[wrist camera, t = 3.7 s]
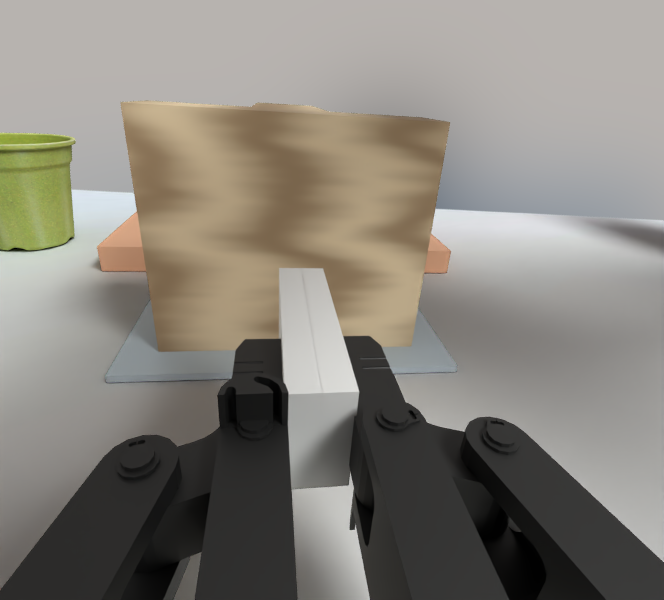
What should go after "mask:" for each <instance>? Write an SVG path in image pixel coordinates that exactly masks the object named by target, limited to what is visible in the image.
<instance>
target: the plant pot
mask: <svg viewBox="0 0 664 600" xmlns="http://www.w3.org/2000/svg"><path fill="white" fill-rule="evenodd" d="M73 144H75V138H73V137H68V136H63V135H52V134H35V133H33V134H32V133H31V134H30V133H29V134H28V133H0V249H2V250H10V249H12V248H22V249H25V250H41V249H44V248H49V247H54V246H59V245H62V244H64V243H66V242H67V241H68V240H69V238H72V237H74V221H73V208H72V194H71V181H70V162H71V160H72V146H71V145H73Z"/></svg>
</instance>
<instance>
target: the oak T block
mask: <svg viewBox="0 0 664 600" xmlns="http://www.w3.org/2000/svg"><path fill="white" fill-rule="evenodd" d="M121 109H122V116H123V122H124V129H125V135H126V142H127V148H128V155H129V161H130V168H131V174H132V181H133V188H134V194H135V201H136V207H137V214H138V221H139V227H140V234H141V240H142V247H143V253H144V260H145V266H146V273H147V279H148V286H149V292H150V299H151V306H152V312H153V319H154V325H155V332H156V338H157V345H158V351H159V352H176V351H223V350H236V349H237V348H238V347H239V345H240V344H241V343H242V342H243V341H244V340H245V339H279V268H323V270H324V273H325V277H326V280H327V284H328V287H329V290H330V294H331V297H332V301H333V304H334V307H335V311H336V314H337V318H338V321H339V324H340V328H341V331H342V335H343V336H371V337H372V338H373V339H374V340H375V341H376V342H378V343H379V344H380V345H381V347H407V346H412V340H413V334H414V328H415V322H416V317H417V311H418V305H419V299H420V294H421V288H422V282H423V276H424V270H425V265H426V259H427V253H428V247H429V242H430V236H431V230H432V224H433V218H434V213H435V207H436V201H437V195H438V189H439V183H440V178H441V171H442V166H443V160H444V155H445V149H446V143H447V137H448V131H449V126H450V122H446V121H440V120H434V119H428V118H422V117H406V116H390V115H374V114H357V113H341V112H329V111H325V110H323V109H320V108H317V107H314V106H304V105H288V104H272V103H256V104H255V105H253V106H252V107H243V106H228V105H211V104H195V103H179V102H163V101H162V102H161V101H133V102H121Z"/></svg>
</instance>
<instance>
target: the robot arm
mask: <svg viewBox="0 0 664 600" xmlns="http://www.w3.org/2000/svg"><path fill="white" fill-rule="evenodd" d="M217 396H218V408H219V421H220V427H219V428H218V429H217V430H215V431H214V432H213V433H212V434H210V435H208V436H207V437H205V438H203V439H200V440H198V441H195V442H192V443H189V444H185V445H182V446H179V447H177V446H176V445H175V444H174V443H173V442H172V441H171V440H170V439H168V438H165V437H162V436H159V435H142V436H139V437H135V438H132V439H128V440H126V441H125V442H123V443H121V444H119V445H117V446H115V447H114V448H113V449H112V450H111V451H110V452H109V453H108V454H106V455H105V456H104V457H103V458H102V460H101V461H100V462H99V464H98V465H97V466H96V468H95V469H94V470H93V471H92V473H91V474H90V475H89V477H88V478H87V479H86V480H85V482H84V483H83V484H82V486H81V487H80V488H79V489H78V491H77V492H76V493H75V495H74V496H73V497H72V498H71V500H70V501H69V502H68V504H67V505H66V506H65V508H64V509H63V510H62V511H61V513H60V514H59V515H58V517H57V518H56V519H55V520H54V522H53V523H52V524H51V526H50V527H49V528H48V529H47V531H46V532H45V533H44V535H43V536H42V537H41V538H40V540H39V541H38V542H37V544H36V545H35V546H34V548H33V549H32V550H31V551H30V553H29V554H28V555H27V557H26V558H25V559H24V560H23V562H22V563H21V564H20V566H19V567H18V568H17V569H16V571H15V572H14V573H13V575H12V576H11V577H10V579H9V580H8V581H7V582H6V584H5V585H4V586H3V588H2V589H1V590H0V600H173V598H174V596H175V594H176V591H177V589H178V586H179V584H180V582H181V579H182V577H183V574H184V572H185V570H186V567H187V565H188V562H189V560H190V556H192V555H195V554H197V553H199V552H202V554H201V560H200V567H199V574H198V581H197V587H196V594H195V600H297V584H296V565H295V547H294V528H293V509H292V491H291V489H304V488H318V487H332V486H347V485H349V478H350V471H351V476H352V481H353V486H354V491H353V499H352V508H351V516H350V530H355V523H356V528H357V533H358V539H359V544H360V549H361V554H362V559H363V565H364V570H365V575H366V580H367V585H368V591H369V596H370V600H664V562H663V561H662V560H661V559H659V558H658V557H657V556H656V555H655V554H654V553H653V552H652V551H651V550H650V549H649V548H648V547H647V546H646V545H645V544H643V543H642V542H641V541H640V540H639V539H638V538H637V537H636V536H635V535H634V534H633V533H632V532H631V531H630V530H629V529H627V528H626V527H625V526H624V525H623V524H622V523H621V522H620V521H619V520H618V519H617V518H616V517H615V516H614V515H613V514H611V513H610V512H609V511H608V510H607V509H606V508H605V507H604V506H603V505H602V504H601V503H600V502H599V501H598V500H596V499H595V498H594V497H593V496H592V495H591V494H590V493H589V492H588V491H587V490H586V489H585V488H584V487H583V486H582V485H580V484H579V483H578V482H577V481H576V480H575V479H574V478H573V477H572V476H571V475H570V474H569V473H568V472H567V471H566V470H564V469H563V468H562V467H561V466H560V465H559V464H558V463H557V462H556V461H555V460H554V459H553V458H552V457H551V456H550V455H548V454H547V453H546V452H545V451H544V450H543V449H542V448H541V447H540V446H539V445H538V444H537V443H536V442H535V441H534V440H532V439H531V438H530V437H529V436H528V435H527V434H526V433H525V432H524V431H522V430H521V429H519V428H518V427H517V426H515V425H514V424H512V423H509V422H507V421H505V420H502V419H498V418H493V417H480V418H476V419H474V420H472V421H470V422H469V424H468V426H467V427H466V429H465V432H462V431H457V430H452V429H447V428H442V427H438V426H435V425H432V424H429V423H427V422H426V420H425V418H424V417H423V415H422V414H421V413H420V411H419V410H418V409H416V408H415V407H413V406H412V405H410V404H408V403H406V402H405V400H404V398H403V395H402V393H401V391H400V388H399V386H398V384H397V381H396V379H395V377H394V375H393V372H392V370H391V369H390V365H389V363H388V361H387V359H386V356H385V354H384V351H383V349H382V347H381V345H380V344H379V343H378V342H376V341H375V340H374V339H373V338H372V337H371V336H343V335H342V331H341V328H340V324H339V321H338V318H337V314H336V311H335V307H334V304H333V301H332V297H331V294H330V290H329V287H328V284H327V280H326V277H325V273H324V270H323V268H279V339H245V340H244V341H243V342H242V343H241V344H240V345H239V347H238V348H237V349H236V351H235V358H234V366H233V375H232V379H230V380H229V381H228V382H226V383H225V384H224V385H223V386H222V387H221V389H220V391H219V393H218V395H217Z"/></svg>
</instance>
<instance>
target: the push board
mask: <svg viewBox="0 0 664 600" xmlns="http://www.w3.org/2000/svg"><path fill="white" fill-rule="evenodd" d="M97 249H98V254H99V259H100V264H101V269H102V271H146V266H145V260H144V253H143V247H142V240H141V234H140V227H139V221H138V214H137V212H135V213H134V214H133V215H132V216H131V217H130V218H129V219H128V220H126V221H125V222H124V223H123V224H122V225H121V226H120V227H118V228H117V229H116V230H115V231H114V232H113V233H112V234H111V235H109V236H108V237H107V238H106V239H105V240H104V241H103V242H101V243H100V244H99V245H98V246H97ZM450 253H451V251H450V250H449V249H448V248H447V247H446V246H445V245H443V244H442V243H441V242H440V241H439V240H438V239H437V238H436V237H434V236H433V235H432V234H431V236H430V242H429V247H428V253H427V259H426V265H425V270H424V273H447V268H448V263H449V258H450ZM382 349H383V351H384V354H385V356H386V359H387V361H388V363H389V365H390V369H391V370H392V372H393V374H400V373H432V372H456V371H457V364H456V363H455V361H454V360H453V358H452V357H451V355H450V354H449V352H448V351H447V349H446V348H445V346H444V345H443V343H442V342H441V340H440V339H439V338H438V336H437V335H436V333H435V332H434V330H433V329H432V327H431V326H430V324H429V323H428V321H427V320H426V318H425V317H424V315H423V314H422V313H421V311H420V310H419V308H418V311H417V317H416V322H415V328H414V334H413V340H412V346H407V347H382ZM235 351H236V350H223V351H176V352H159V351H158V345H157V338H156V332H155V325H154V319H153V312H152V306H151V299H150V300H149V302H148V304H147V305H146V307H145V309H144V310H143V312H142V314H141V316H140V317H139V319H138V321H137V322H136V324H135V326H134V327H133V329H132V331H131V333H130V334H129V336H128V338H127V339H126V341H125V343H124V344H123V346H122V348H121V350H120V351H119V353H118V355H117V356H116V358H115V360H114V361H113V363H112V365H111V367H110V368H109V370H108V372H107V373H106V375H105V378H106V383H113V382H145V381H177V380H209V379H232V375H233V366H234V358H235Z"/></svg>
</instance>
